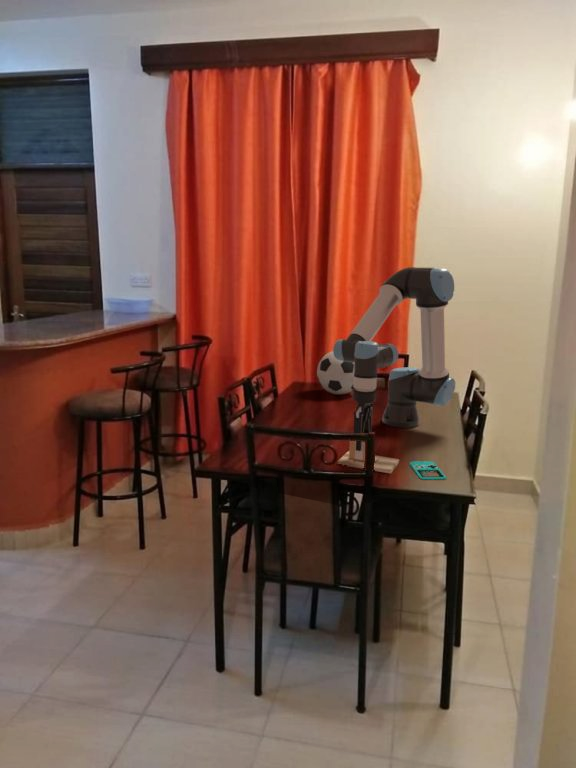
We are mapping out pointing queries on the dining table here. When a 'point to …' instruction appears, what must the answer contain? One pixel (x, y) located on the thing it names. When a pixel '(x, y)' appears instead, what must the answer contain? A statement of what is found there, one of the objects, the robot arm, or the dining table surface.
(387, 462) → the board
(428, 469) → the handheld gaming console
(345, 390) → the soccer ball
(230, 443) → the dining table surface
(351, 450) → the block
